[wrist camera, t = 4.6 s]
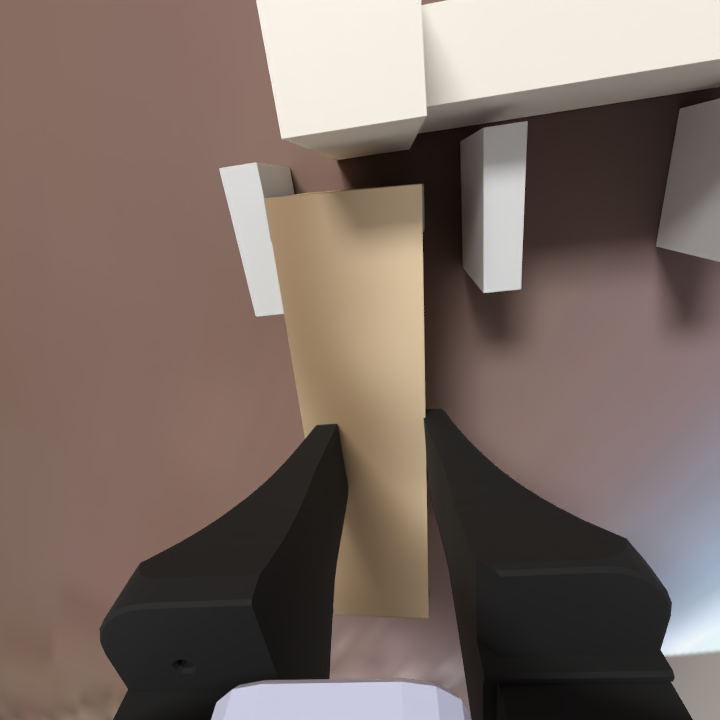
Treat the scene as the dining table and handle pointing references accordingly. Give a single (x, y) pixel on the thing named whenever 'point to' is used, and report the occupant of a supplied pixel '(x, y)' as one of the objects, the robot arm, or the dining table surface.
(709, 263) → the dining table surface
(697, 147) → the white comb rack
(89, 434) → the dining table surface
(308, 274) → the rail
